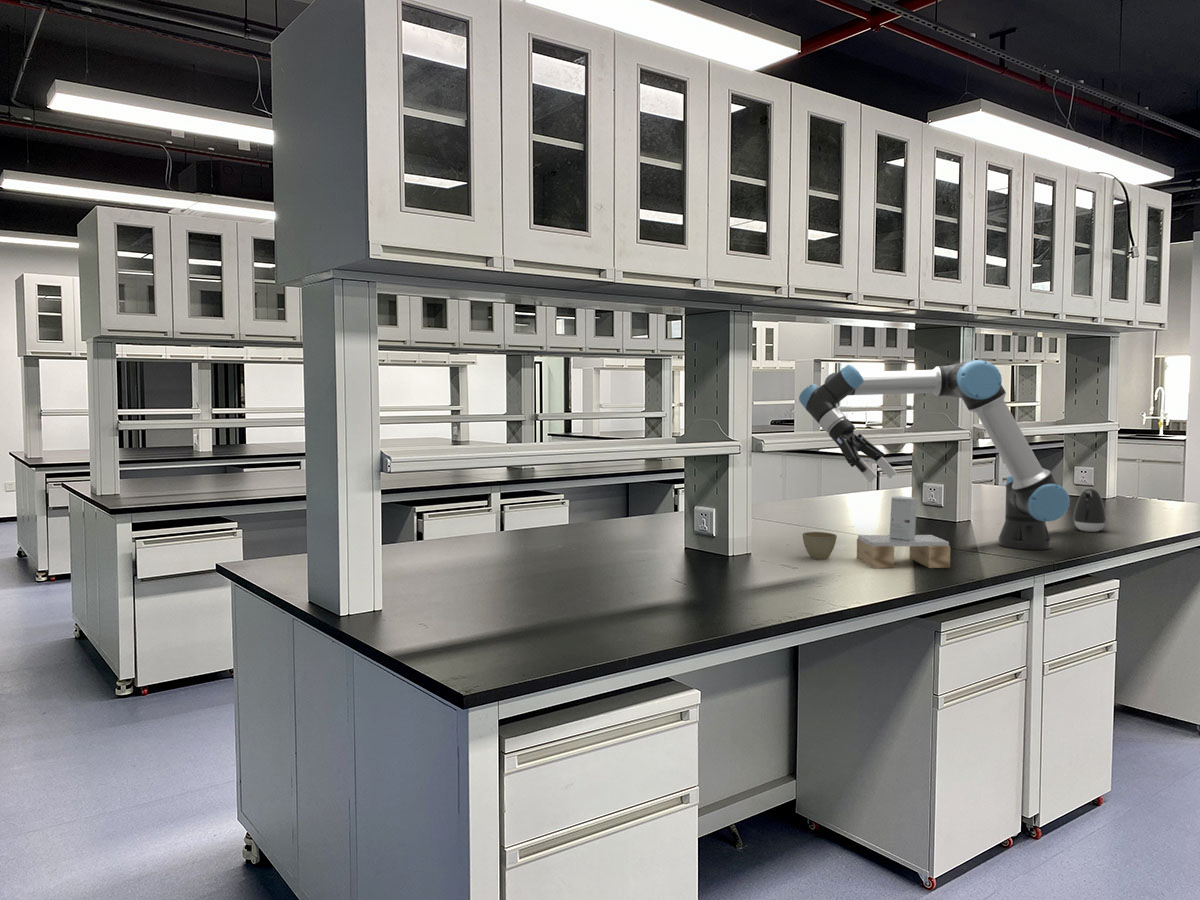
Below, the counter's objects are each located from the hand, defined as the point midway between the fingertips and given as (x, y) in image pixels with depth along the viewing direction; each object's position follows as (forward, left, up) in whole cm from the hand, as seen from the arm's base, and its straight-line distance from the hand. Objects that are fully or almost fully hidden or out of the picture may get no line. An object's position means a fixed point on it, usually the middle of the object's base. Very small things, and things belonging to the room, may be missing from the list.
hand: (883, 477), depth 248 cm
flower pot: (+19, 0, -25) cm, 31 cm away
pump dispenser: (-92, -47, -25) cm, 106 cm away
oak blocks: (-3, +8, -24) cm, 26 cm away
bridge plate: (-3, +8, -18) cm, 20 cm away
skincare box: (-3, +8, -17) cm, 19 cm away
